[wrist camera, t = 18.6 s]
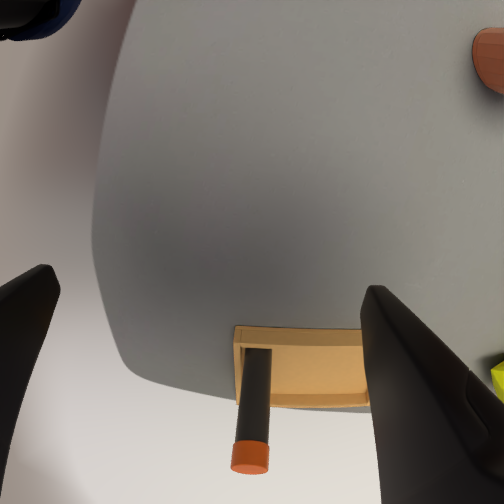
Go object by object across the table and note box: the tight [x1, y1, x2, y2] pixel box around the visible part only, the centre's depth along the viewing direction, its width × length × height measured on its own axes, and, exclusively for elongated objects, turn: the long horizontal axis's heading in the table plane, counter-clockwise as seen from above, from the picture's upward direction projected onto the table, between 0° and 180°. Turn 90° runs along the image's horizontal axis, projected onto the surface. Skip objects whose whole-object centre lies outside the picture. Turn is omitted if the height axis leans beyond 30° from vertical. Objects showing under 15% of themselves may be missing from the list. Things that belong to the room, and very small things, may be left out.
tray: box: [233, 326, 370, 408], centre depth 29 cm, size 15×11×2 cm
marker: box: [231, 348, 272, 474], centre depth 23 cm, size 3×3×12 cm
